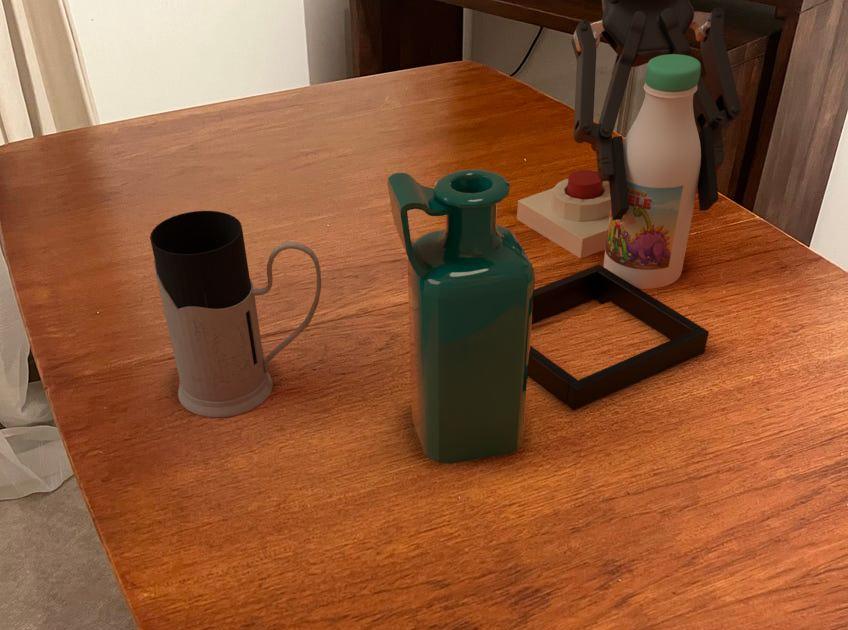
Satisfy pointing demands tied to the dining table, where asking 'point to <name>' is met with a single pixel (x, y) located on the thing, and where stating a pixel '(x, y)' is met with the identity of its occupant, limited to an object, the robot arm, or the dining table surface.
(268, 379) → the glass holder
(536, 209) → the control box
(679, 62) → the milk bottle
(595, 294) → the black square frame
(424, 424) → the pitcher
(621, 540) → the dining table surface
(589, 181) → the stop button
